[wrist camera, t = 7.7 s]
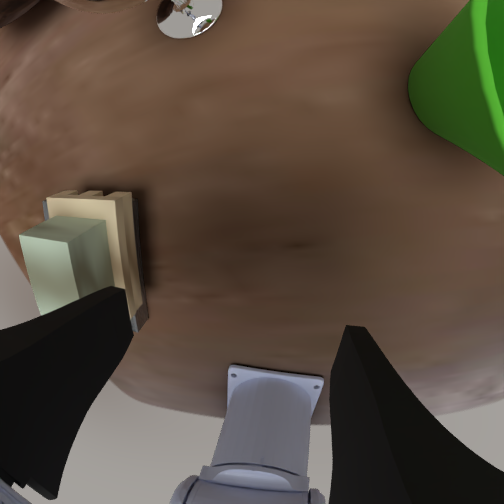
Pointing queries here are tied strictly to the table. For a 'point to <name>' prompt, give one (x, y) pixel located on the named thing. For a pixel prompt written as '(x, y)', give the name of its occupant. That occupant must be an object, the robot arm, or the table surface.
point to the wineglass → (162, 13)
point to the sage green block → (82, 249)
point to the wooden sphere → (14, 9)
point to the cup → (465, 82)
